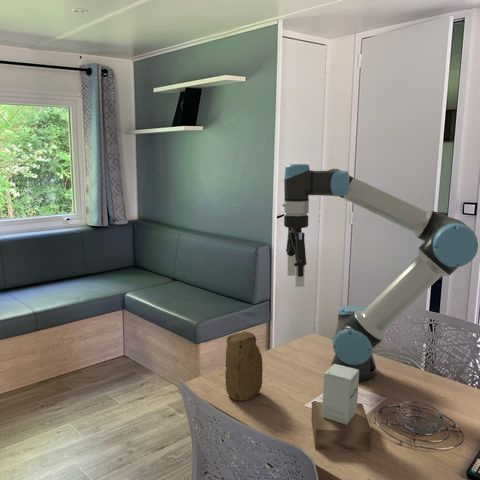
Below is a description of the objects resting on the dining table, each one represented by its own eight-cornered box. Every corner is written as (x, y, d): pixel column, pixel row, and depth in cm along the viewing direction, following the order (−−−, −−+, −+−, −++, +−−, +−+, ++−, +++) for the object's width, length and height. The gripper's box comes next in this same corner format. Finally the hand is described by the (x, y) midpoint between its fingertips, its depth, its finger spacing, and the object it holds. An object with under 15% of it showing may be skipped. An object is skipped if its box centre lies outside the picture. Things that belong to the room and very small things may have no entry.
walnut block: (361, 423, 138) (362, 403, 136) (370, 453, 124) (371, 431, 123) (311, 421, 139) (311, 401, 138) (315, 450, 125) (315, 429, 124)
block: (235, 404, 147) (234, 341, 144) (223, 394, 154) (222, 334, 150) (265, 395, 153) (265, 334, 149) (252, 385, 159) (252, 327, 155)
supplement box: (347, 425, 125) (350, 380, 123) (321, 417, 129) (323, 372, 127) (357, 413, 131) (360, 369, 129) (331, 405, 135) (333, 362, 133)
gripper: (278, 209, 163) (277, 271, 167) (291, 219, 139) (290, 291, 142) (300, 209, 164) (299, 271, 168) (317, 219, 139) (316, 291, 143)
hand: (295, 280), depth 155 cm, fingers open, 13 cm apart
